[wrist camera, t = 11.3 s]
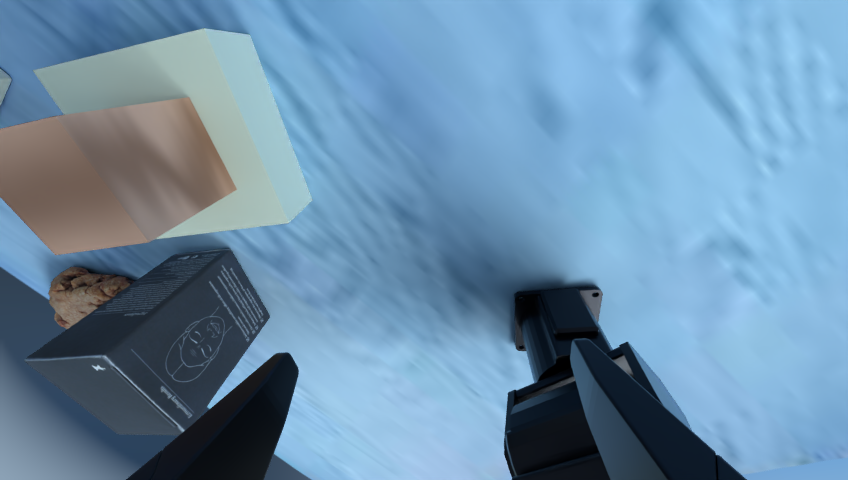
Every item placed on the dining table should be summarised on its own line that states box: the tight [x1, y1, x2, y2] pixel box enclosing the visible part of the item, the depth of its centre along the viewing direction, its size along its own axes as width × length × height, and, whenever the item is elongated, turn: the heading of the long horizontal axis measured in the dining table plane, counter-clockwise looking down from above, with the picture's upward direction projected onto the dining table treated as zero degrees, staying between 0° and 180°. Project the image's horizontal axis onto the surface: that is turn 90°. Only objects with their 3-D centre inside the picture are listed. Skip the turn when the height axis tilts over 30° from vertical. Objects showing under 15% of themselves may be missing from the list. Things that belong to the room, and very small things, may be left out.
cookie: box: [49, 267, 134, 329], centre depth 28 cm, size 10×11×3 cm
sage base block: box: [33, 28, 312, 240], centre depth 19 cm, size 10×10×4 cm
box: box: [24, 249, 270, 435], centre depth 22 cm, size 8×6×11 cm
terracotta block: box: [0, 97, 237, 255], centre depth 14 cm, size 5×5×6 cm
